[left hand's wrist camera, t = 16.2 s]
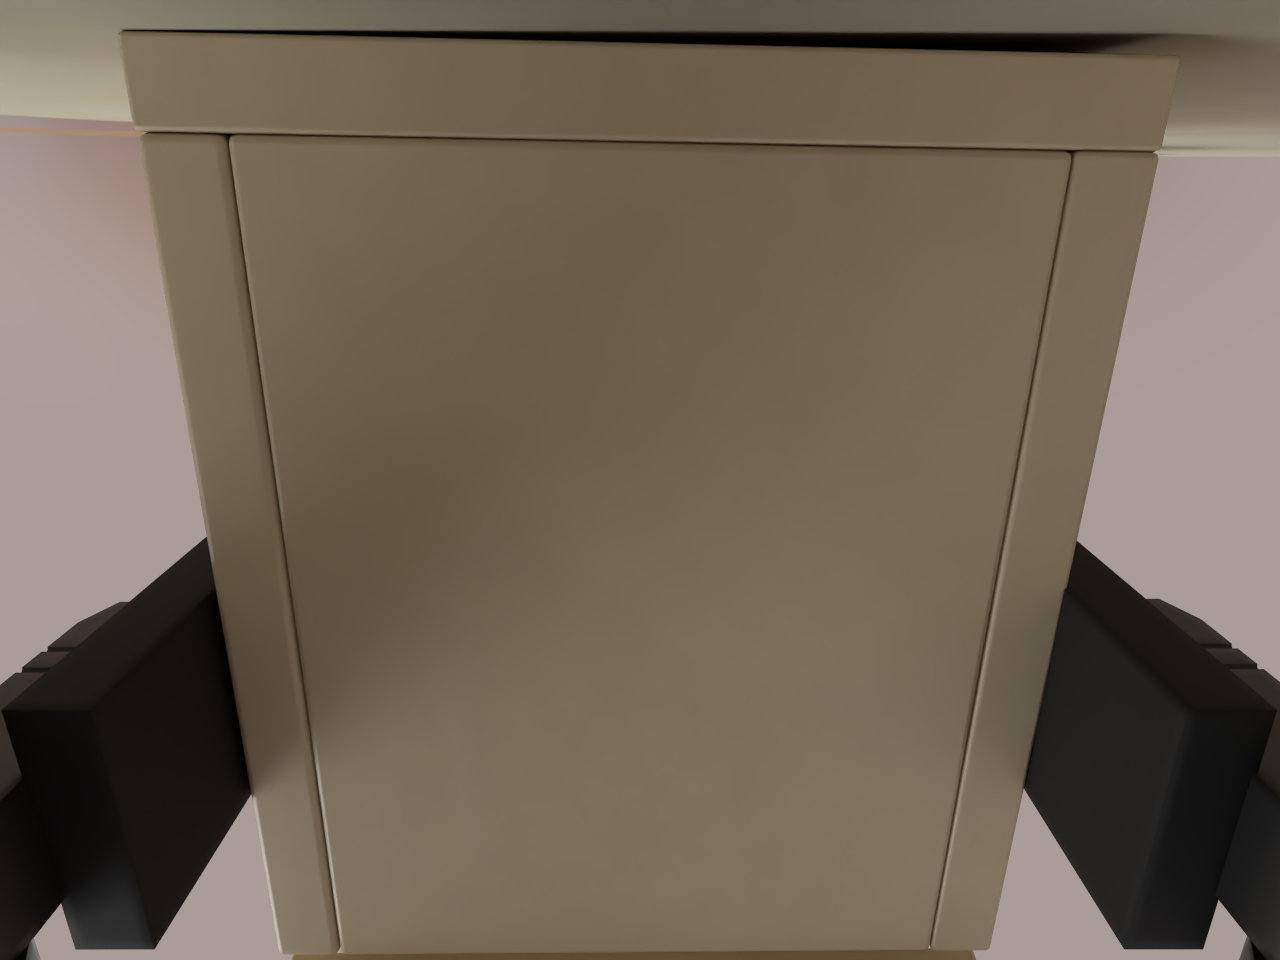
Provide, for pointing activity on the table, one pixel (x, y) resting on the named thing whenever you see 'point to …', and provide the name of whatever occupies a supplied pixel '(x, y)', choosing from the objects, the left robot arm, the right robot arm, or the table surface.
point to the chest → (640, 467)
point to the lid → (668, 955)
